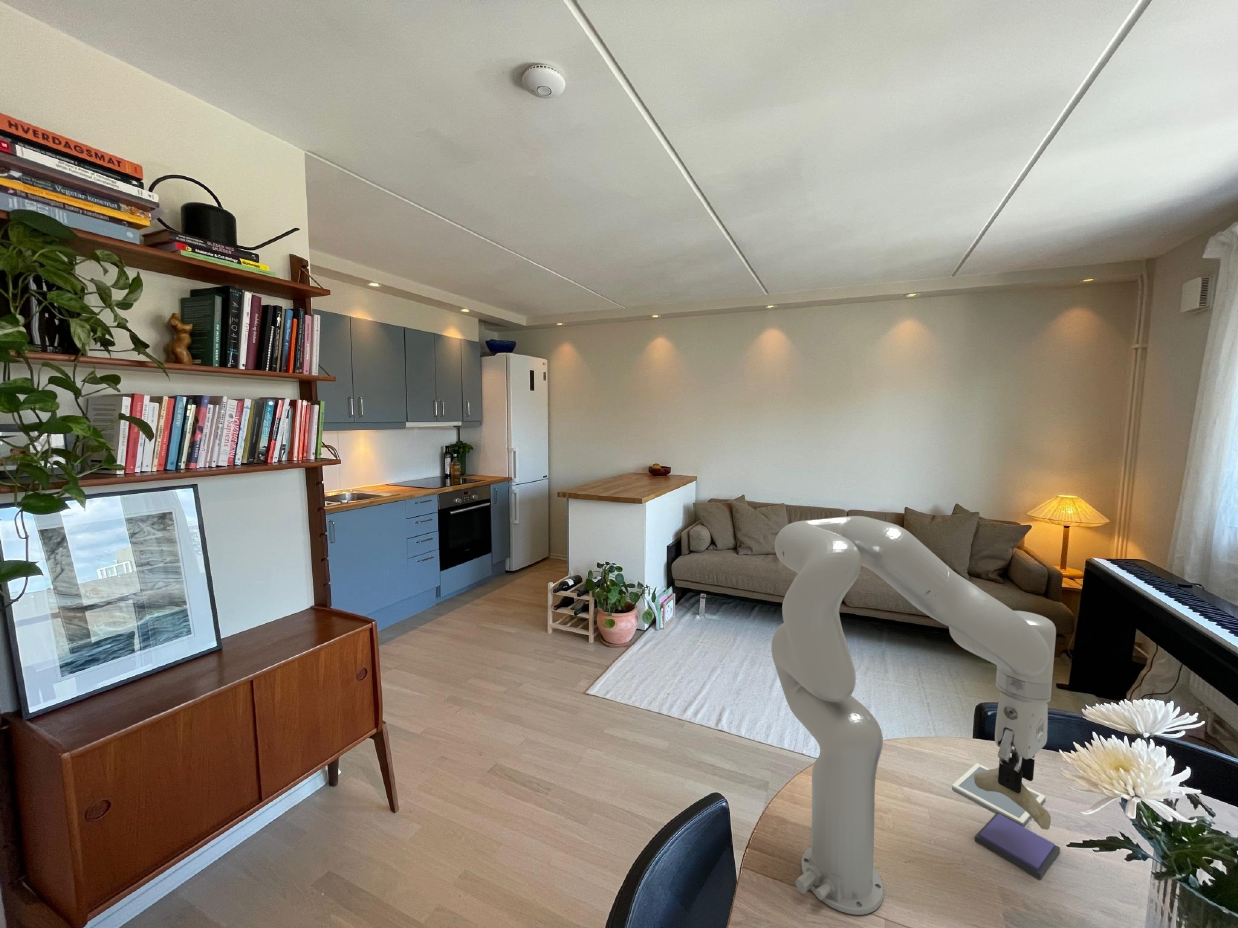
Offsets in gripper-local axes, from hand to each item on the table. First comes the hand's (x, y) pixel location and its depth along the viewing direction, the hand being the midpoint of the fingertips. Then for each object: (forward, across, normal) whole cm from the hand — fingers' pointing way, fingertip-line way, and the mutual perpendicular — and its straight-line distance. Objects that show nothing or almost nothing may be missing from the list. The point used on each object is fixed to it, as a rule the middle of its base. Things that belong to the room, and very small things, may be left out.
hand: (1015, 780), depth 88 cm
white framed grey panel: (+12, +13, +6) cm, 19 cm away
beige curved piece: (+4, -2, 0) cm, 4 cm away
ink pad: (+13, +1, 0) cm, 13 cm away
